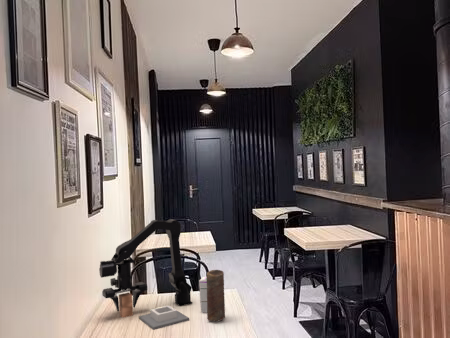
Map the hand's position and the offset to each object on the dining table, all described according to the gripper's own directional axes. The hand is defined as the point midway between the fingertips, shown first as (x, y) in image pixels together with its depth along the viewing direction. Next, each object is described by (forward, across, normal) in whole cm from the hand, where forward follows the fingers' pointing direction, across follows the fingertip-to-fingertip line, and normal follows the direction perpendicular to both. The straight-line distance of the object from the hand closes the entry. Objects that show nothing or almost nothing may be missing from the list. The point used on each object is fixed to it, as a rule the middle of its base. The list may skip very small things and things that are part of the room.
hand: (126, 309), depth 181 cm
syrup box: (+3, -31, +19) cm, 36 cm away
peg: (+3, 0, 0) cm, 3 cm away
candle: (+3, -28, +31) cm, 42 cm away
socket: (+2, -11, +16) cm, 20 cm away
